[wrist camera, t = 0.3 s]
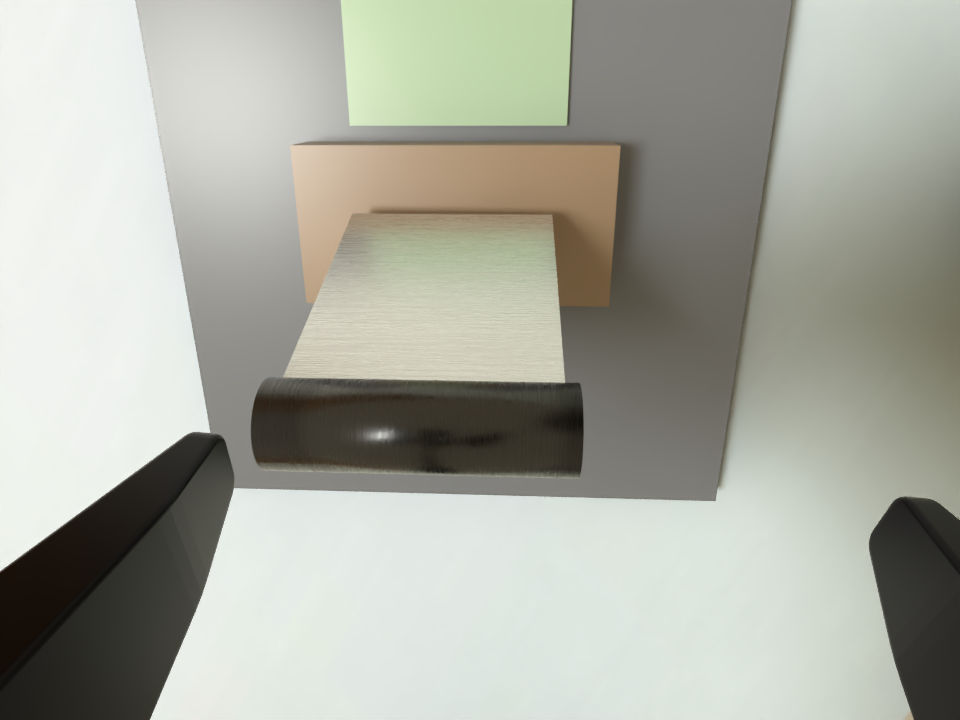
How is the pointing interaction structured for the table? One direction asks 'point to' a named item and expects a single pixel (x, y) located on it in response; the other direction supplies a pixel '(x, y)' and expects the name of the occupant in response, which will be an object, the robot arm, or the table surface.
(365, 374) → the bench scraper
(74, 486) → the table surface
